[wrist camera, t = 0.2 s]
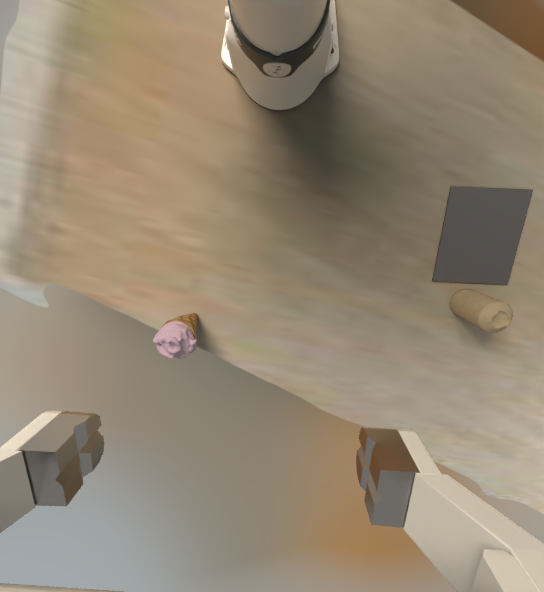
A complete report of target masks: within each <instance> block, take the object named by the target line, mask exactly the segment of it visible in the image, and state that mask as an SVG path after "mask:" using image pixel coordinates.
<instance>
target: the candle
mask: <svg viewBox="0 0 544 592" xmlns="http://www.w3.org/2000/svg"><path fill="white" fill-rule="evenodd" d="M450 306H451V309H452V311H453V312H454V313H455V314H456V315H458V316H460V317H461V318H463V319H465V320H467V321H468V322H470V323H472V324H474V325H476V326H477V327H479V328H481V329H483V330H484V331H486V332H491V333H492V332H498V331H501V330H503V329H504V328H506V327H507V326H508V325H510V323H511V320H512V316H513V312H512V309H511V307H510V306H509V305H508V304H507V303H504V302H502V301H499V300H497V299H494V298H492V297H489V296H487V295H484V294H482V293H479V292H476V291H474V290H470V289H464V290H461V291H459V292H457V293H456V294H455V295H454V296H453V297H452V299H451V303H450Z"/></svg>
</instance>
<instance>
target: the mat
mask: <svg viewBox="0 0 544 592" xmlns="http://www.w3.org/2000/svg"><path fill="white" fill-rule="evenodd" d="M532 192H533V190H526V189H502V188H477V187H451V188H450V193H449V198H448V203H447V208H446V213H445V218H444V223H443V228H442V233H441V239H440V244H439V249H438V254H437V259H436V264H435V269H434V274H433V279H432V281H441V282H462V283H483V284H504V285H507V284H508V281H509V277H510V273H511V270H512V266H513V262H514V259H515V255H516V251H517V247H518V244H519V240H520V236H521V233H522V229H523V225H524V221H525V218H526V214H527V210H528V207H529V203H530V199H531V196H532Z"/></svg>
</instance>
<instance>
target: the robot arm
mask: <svg viewBox="0 0 544 592" xmlns="http://www.w3.org/2000/svg"><path fill="white" fill-rule="evenodd" d="M225 19H226V20H227V21H226V27H225V33H224V39H223V46H222V52H221V58H222V62H223V64H224V66H225V67H226V68H227V69H228V70H230V71H231V72H232V73H233V74H235V75H236V76H237V78H238V79H239V81H240V83H241V85H242V87H243V88H244V90H245V91H246V93H247V94H248V95H249V96H250V97H251V98H252V99H253V100H254V101H255V102H256V103H258V104H259V105H261V106H263V107H266V108H269V109H273V110H285V109H290V108H293V107H295V106H297V105H299V104H301V103H302V102H304V101H305V100H306V99H307V98H308V97H309V96H310V95H311V94H312V93H313V92H314V90H315V89H316V87H317V86H318V84H319V83H320V81H321V80H322V79H323V78H324V77H326V76H327V75H329V74H330V73H331V72H333V71H334V70H335V69H336V68H337V66H338V64H339V46H338V33H337V20H336V7H335V0H228V6H226V7H225ZM331 50H332V51H333V53H332V54H331ZM100 426H101V420H100V416H99V415H97V414H94V413H81V412H68V411H65V412H63V411H51V410H50V411H47V412H44V413H42V414H41V415H40V416H39V417H37V418H36V419H35V420H34V421H32V422H31V423H30V424H29V425H27V426H26V427H25V428H24V429H23V430H21V431H20V432H19V433H18V434H16V435H15V436H14V437H13V438H11V439H10V440H9V441H8V442H7V443H5V444H4V445H3V446H2V447H0V533H1V532H2V531H3V530H5V529H6V528H8V527H9V526H10V525H12V524H13V523H14V522H16V521H17V520H18V519H20V518H21V517H23V516H24V515H25V514H27V513H28V512H30V511H31V510H32V509H34V508H35V505H39V506H40V505H41V506H67V505H68V504H69V502H70V501H71V500H72V498H73V497H74V496H75V494H76V493H77V492H78V490H79V489H80V488H81V486H82V485H83V477H84V476H86V475H87V474H88V473H90V472H92V471H93V470H94V469H95V467H96V466H97V465H98V463H99V461H100V459H101V456H102V454H103V449H104V439H103V436H102V435H101V434H100V433H99V432H98V429H99V428H100ZM359 440H360V443H361V447H360V448H359V450H358V451H357V458H356V465H357V475H358V479H359V483H360V486H361V487H362V488H363V489H364V490H365V491H366V494H365V504H366V507H367V511H368V514H369V517H370V521H371V524H372V525H382V526H393V527H404V530H405V531H406V533H407V534H408V535H409V536H410V537H411V538H412V540H413V541H414V542H415V543H416V544H417V545H418V547H419V548H420V549H421V550H422V551H423V552H424V554H425V555H426V556H427V557H428V558H429V560H430V561H431V562H432V563H433V564H434V565H435V567H436V568H437V569H438V570H439V571H440V572H441V574H442V575H443V576H444V577H445V578H446V579H447V580H448V582H449V583H450V584H451V585H452V587H453V588H454V589H455V590H456V591H457V592H544V544H543V543H542V542H540V541H539V540H537V539H536V538H534V537H533V536H532V535H530V534H529V533H528V532H526V531H525V530H523V529H522V528H520V527H519V526H518V525H516V524H515V523H514V522H512V521H511V520H510V519H508V518H507V517H505V516H504V515H503V514H501V513H500V512H498V511H497V510H496V509H494V508H493V507H491V506H490V505H489V504H487V503H486V502H484V501H483V500H482V499H480V498H479V497H477V496H476V495H475V494H473V493H472V492H470V491H469V490H468V489H466V488H465V487H464V486H462V485H461V484H459V483H458V482H457V481H455V480H454V479H452V478H451V477H450V476H448V475H444V474H441V472H440V471H439V469H438V468H437V466H436V464H435V463H434V461H433V460H432V458H431V457H430V455H429V453H428V452H427V450H426V449H425V447H424V445H423V444H422V442H421V441H420V439H419V437H418V436H417V434H416V433H415V431H413V430H412V429H382V428H361V430H360V435H359ZM0 592H123V591H108V590H94V589H79V588H63V587H49V586H35V585H19V584H3V583H0Z"/></svg>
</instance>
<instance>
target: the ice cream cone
mask: <svg viewBox="0 0 544 592" xmlns="http://www.w3.org/2000/svg"><path fill="white" fill-rule="evenodd" d="M197 326H198V315H197V314H195V313H193V314H188V315H183V316H180V317H177V318H174V319H172V320H170V321H167V322H166V323H165V324H164V325H163V327H162V328H161V329H160V331H159V332H158V333H157V334H156V335H155V337H154V339H153V342H154V343H156V347H157V349H158V351H159V353H160V354H161V355H162V356H163V357H165V358H170V359H172V358H174V357H177V358H179V359H182V358H185V357H186V356H187V355H188V353H191V352H193V351H194V350H195V349H196V345H197V344H196V341H197V334H196V333H197Z"/></svg>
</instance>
